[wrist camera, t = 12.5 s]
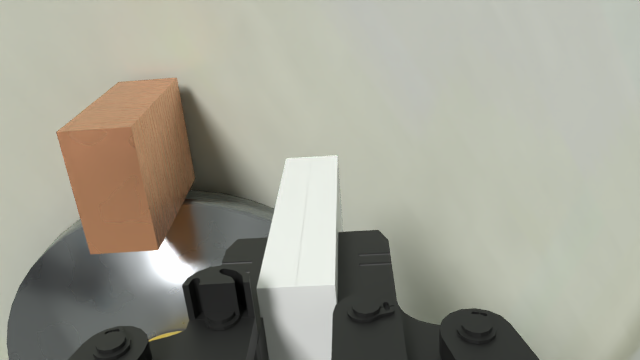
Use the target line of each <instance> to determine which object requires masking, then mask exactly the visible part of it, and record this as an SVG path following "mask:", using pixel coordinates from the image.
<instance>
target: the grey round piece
mask: <svg viewBox="0 0 640 360" xmlns="http://www.w3.org/2000/svg"><path fill="white" fill-rule="evenodd" d="M56 133H57V136H58V140H59V143H60V147H61V151H62V154H63V158H64V161H65V165H66V169H67V172H68V176H69V179H70V183H71V187H72V190H73V194H74V197H75V201H76V204H77V208H78V212H79V215H80V220H78V221H77V222H76V223H74V224H73V225H72V226H71V227H69V228H68V229H67V230H66V231H64V232H63V233H62V234H61V235H60V236H59V237H58V238H57V239H56V240H55V241H54V242H53V243H52V244H51V246H50V247H49V248H48V249H47V250H46V251H45V252H44V253H43V255H42V256H41V257H40V258H39V259H38V261H37V262H36V263H35V264H34V265H33V267H32V268H31V269H30V271H29V272H28V274H27V275H26V277H25V278H24V280H23V282H22V283H21V285H20V286H19V289H18V291H17V294H16V296H15V299H14V301H13V303H12V307H11V311H10V316H9V320H8V329H7V348H8V356H9V360H68V359H69V358H70V357H71V356H72V355H73V354H74V352H75V351H76V350H77V349H78V348H79V347H80V346H81V345H82V344H83V343H84V342H85V341H87V340H88V339H89V338H90V337H92V336H93V335H95V334H97V333H99V332H101V331H103V330H105V329H109V328H113V327H117V326H134V327H137V328H140V329H142V330H143V331H144V332H145V333H146V334H147V337H148V340H150V339H152V338H154V337H156V336H159V335H162V334H165V333H169V332H175V331H184V330H186V328H187V325H188V322H189V317H188V312H187V307H186V303H185V298H184V293H183V288H182V285H183V283H184V282H185V281H186V279H187V278H188V277H190V276H191V275H193V274H194V273H196V272H198V271H200V270H203V269H206V268H208V267H214V266H220V265H222V260H223V257H224V255H225V252H226V250H227V249H228V248H229V247H230V246H231V245H232V244H233V243H234V242H235V241H236V240H237V239H246V238H265V237H268V236H269V232H270V227H271V223H272V219H273V214H274V210H275V209H274V208H271V207H269V206H266V205H263V204H260V203H257V202H255V201H252V200H249V199H244V198H240V197H236V196H231V195H227V194H222V193H213V192H205V191H189V190H190V188H191V186H192V184H193V182H194V180H195V175H194V169H193V164H192V158H191V153H190V148H189V142H188V137H187V131H186V126H185V120H184V115H183V109H182V104H181V98H180V93H179V87H178V82H177V78H167V79H153V80H140V81H127V82H118V83H117V84H116V85H114V86H113V87H112V88H111V89H109V90H108V91H107V92H106V93H104V94H103V95H102V96H101V97H100V98H98V99H97V100H96V101H95V102H93V103H92V104H91V105H90V106H88V107H87V108H86V109H85V110H83V111H82V112H81V113H80V114H78V115H77V116H76V117H75V118H73V119H72V120H71V121H70V122H68V123H67V124H66V125H65V126H63V127H62V128H61V129H60V130H58V131H57V132H56Z"/></svg>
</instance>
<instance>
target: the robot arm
mask: <svg viewBox="0 0 640 360" xmlns="http://www.w3.org/2000/svg"><path fill="white" fill-rule="evenodd" d="M182 288H183V293H184V298H185V303H186V307H187V312H188V317H189V322H188V325H187V328H186V330H184V331H182V332H180V333H177V334H174V335H171V336H168V337H164V338H160V339H156V340H152V341H148V337H147V334H146V333H145V332H144V331H143V330H142V329H140V328H137V327H134V326H117V327H113V328H109V329H105V330H103V331H101V332H99V333H97V334H95V335H93V336H92V337H90V338H89V339H88V340H87V341H85V342H84V343H83V344H82V345H81V346H80V347H79V348H78V349H77V350H76V351H75V352H74V354H73V355H72V356H71V357H70V358H69V359H68V360H539V359H538V357H537V356H536V355H535V354H534V352H533V351H532V350H531V349H530V347H529V346H528V345H527V344H526V342H525V341H524V340H523V339H522V338H521V336H520V335H519V334H518V333H517V331H516V330H515V329H514V328H513V326H512V325H511V324H510V323H509V322H508V321H506V320H505V319H504V318H503V317H502V316H500V315H497V314H495V313H493V312H490V311H487V310H481V309H461V310H459V311H456V312H453V313H450V314H449V315H448V316H447V317H445V318H444V319H443V320H442V322H441V325H436V324H430V323H426V322H422V321H418V320H416V319H414V318H412V317H410V316H408V315H407V314H406V313H404V312H403V311H402V310H401V308H400V307H399V305H398V303H397V299H396V292H395V285H394V278H393V270H392V265H391V256H390V249H389V242H388V239H387V238H386V237H385V236H384V235H383V234H382V233H381V232H380V231H379V230H370V231H351V232H343V223H342V209H341V195H340V182H339V168H338V155H333V156H317V157H300V158H286V162H285V166H284V170H283V175H282V179H281V184H280V188H279V192H278V197H277V201H276V205H275V210H274V214H273V219H272V223H271V227H270V232H269V236H268V237H265V238H246V239H237V240H236V241H235V242H234V243H233V244H232V245H231V246H230V247H229V248H228V249H227V250H226V252H225V255H224V257H223V260H222V265H220V266H214V267H208V268H206V269H203V270H200V271H198V272H196V273H194V274H193V275H191V276H190V277H188V278H187V279H186V281H185V282H184V283H183V285H182Z"/></svg>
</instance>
